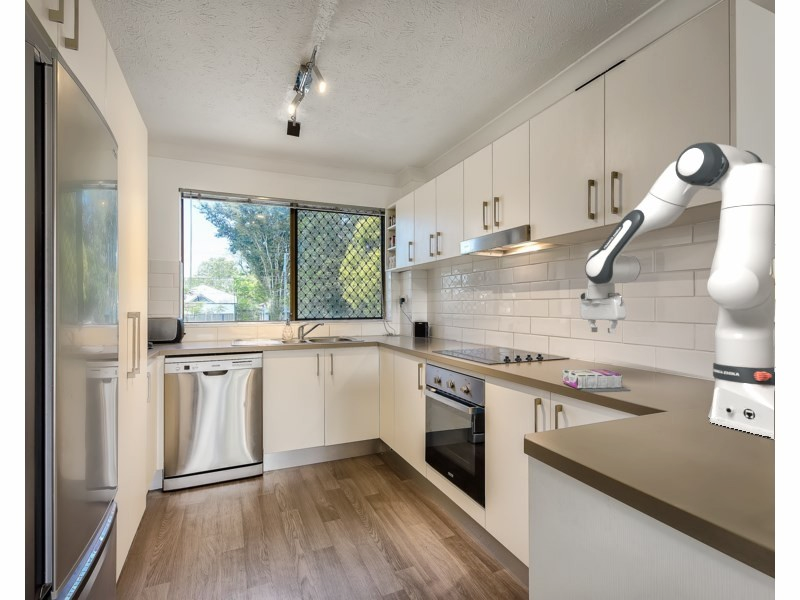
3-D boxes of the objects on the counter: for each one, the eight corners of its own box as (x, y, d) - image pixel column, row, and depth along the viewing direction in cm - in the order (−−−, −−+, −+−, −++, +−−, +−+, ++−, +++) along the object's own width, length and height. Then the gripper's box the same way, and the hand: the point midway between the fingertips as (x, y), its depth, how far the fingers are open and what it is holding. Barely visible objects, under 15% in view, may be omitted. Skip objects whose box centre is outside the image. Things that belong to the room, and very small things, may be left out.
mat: (630, 390, 135) (630, 389, 135) (589, 392, 133) (589, 391, 133) (603, 383, 149) (603, 382, 149) (565, 384, 146) (565, 383, 146)
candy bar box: (604, 382, 149) (562, 382, 148) (604, 369, 149) (562, 369, 148) (622, 388, 137) (576, 389, 137) (622, 374, 137) (576, 374, 137)
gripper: (630, 292, 132) (631, 333, 131) (591, 295, 152) (592, 331, 152) (613, 292, 131) (614, 334, 131) (576, 295, 151) (577, 331, 151)
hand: (602, 332), depth 141 cm, fingers open, 8 cm apart
